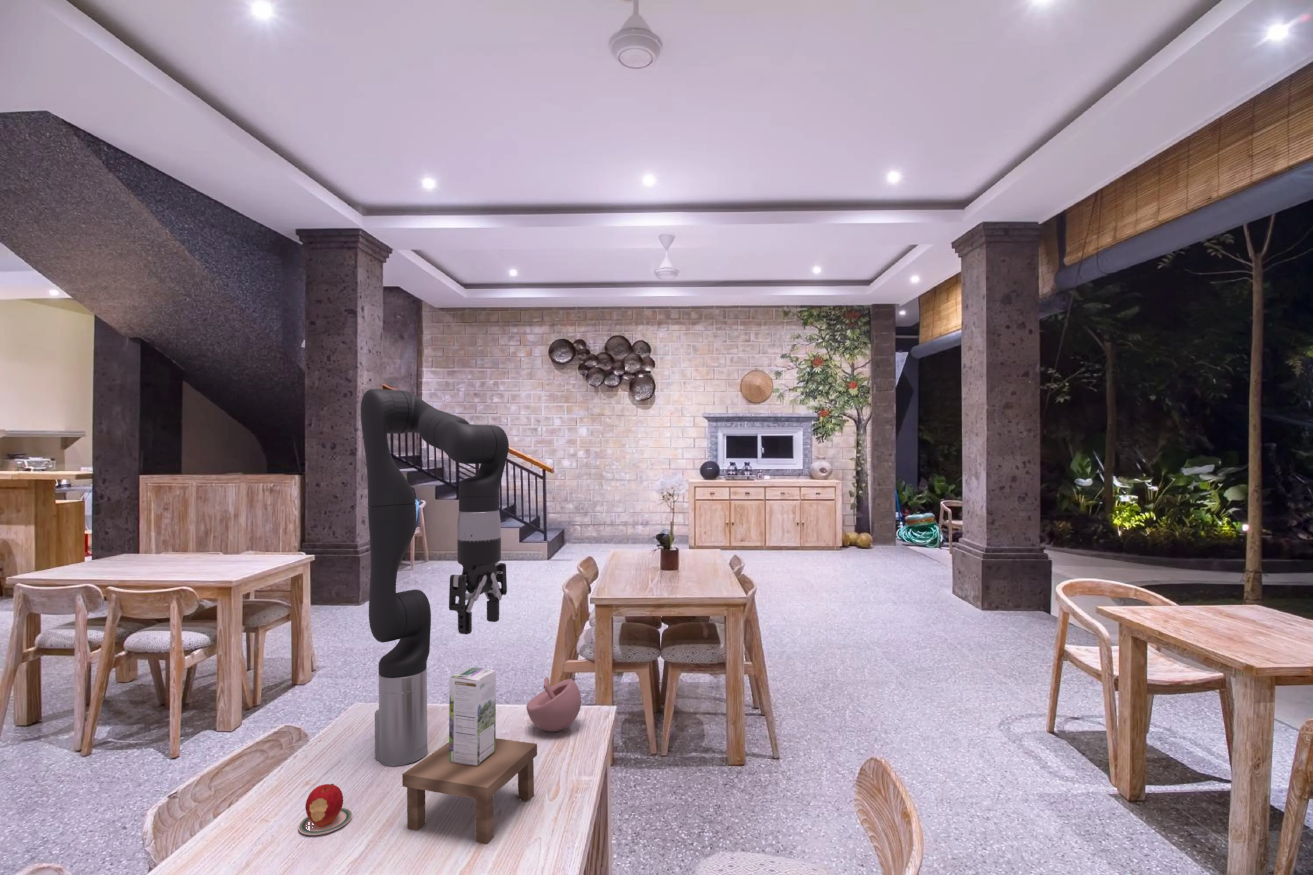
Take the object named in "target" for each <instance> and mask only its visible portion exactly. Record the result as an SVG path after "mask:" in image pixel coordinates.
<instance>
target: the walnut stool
mask: <svg viewBox="0 0 1313 875" xmlns="http://www.w3.org/2000/svg"><path fill="white" fill-rule="evenodd" d="M537 756H538V743H533V742H525V741H520V740H512V739H511V740H510V739H503V738H498V737H497V738H496V750H495V752H494V753H493V754H492V755H490V756H489V757H488V758H487V759H485V760H484V761H483V762H482V763H480V764H479V765H478V766H474V765H466V764H459V763H453V762H450V761H449V741H448V742H447V743H445V744H444V745H442V746H441V747H440V748H438V749H436V750H435V751H434V752H432V753H431V754H429V755H427V757H425V758H422V760H421V761H419V762H418V763H416V764H415V765H413V766H412V767H410V768H409V769H408V770H406V771H405V772H404V773H402V774H401V775H402V777H401V778H402V779H401V780H402V781H401V782H402V786H401V787H404V788H406V807H407V808H406V810H407V811H406V813H407V814H406V819H407V821H406V822H407V824H406V826H407V828H406V829H408V830H411V831H419V830H420V829H422V828H423V827H424V826H426V820H427V819H426V818H427V817H426V791H427V792H432V793H437V794H438V793H439V794H444V795H451V796H457V797H464V798H467V799H475V800H474V803H475V806H474V807H475V810H474V812H475V842H476V843H479V844H485V845H487V844H489V842H491V841H492V839H493V838H494V837H495V830H494V828H495V827H494V826H495V824H494V823H495V820H494V819H495V818H494V815H495V812H494V808H495V806H494V795H496V794H497V793H498V792H499V791H500V790H501V789H502V788H503V787H505V785H506V784H507V783H509V782H510V781H511V780H512V779H513V778H514V777H515V776H516V775H517V800H519V801H523V802H529V801H531V799H532V798H534V796H535V787H534V786H535V785H534V784H535V783H534V782H535V777H534V773H535V772H534V770H535V769H534V765H535V764H534V759H535V758H536V757H537Z"/></svg>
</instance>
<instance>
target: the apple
mask: <svg viewBox="0 0 1313 875" xmlns="http://www.w3.org/2000/svg"><path fill="white" fill-rule="evenodd" d="M343 805H344V796H343V792H342V790H341V788H340V787H339V786H337V785H335V784H334V783H331V784H330V783H327V784H326V783H325V784H321V785H318V786H317V787H315V788H313V789H312V790H311V792H310V793H309V794H308V796H307V799H306V802H305V813H306V817H304V818H303V819H302V820H301V821H300V823H299V825H298V831H299V832H300V833H301V834H303V835H306V836H317V835H318V836H319V835H325V834H328V833H331V832H334V831H337V830H339V829H341V828H342V827H344V826H346V825H347V824H348V823H349V822H350V821H351V820H352V817H353V812H352V811H351V809H349V808H346V807H343ZM308 822H310V825H308ZM312 823H313V824H314V825H312ZM306 825H307V826H306ZM308 826H310V831H309V830H307V829H308ZM306 827H307V829H306ZM312 827H313V828H312Z"/></svg>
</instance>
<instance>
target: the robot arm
mask: <svg viewBox="0 0 1313 875" xmlns="http://www.w3.org/2000/svg"><path fill="white" fill-rule="evenodd" d="M360 423H361V424H360V425H361V432H362V440H363V447H364V454H365V463H366V477H367V478H366V481H367V517H368V518H367V519H368V531H369V532H368V534H369V550H370V552H369V554H370V576H369V577H370V578H369V594H368V595H369V596H368V597H369V598H368V622H369V629H370V632H371V634H372V637H373V638H374V639H375V640H376V641H377V642H378V643H390V642H394V641H397V640H399V641H398V642H397V643H396V645H395V646H394V647H393V648H392V649H391V650H390V651H388V652H387V653H386V654H384V655H383V656H382V657H381V658H380V659H379V661H378V708H377V710H375V712H374V759H375V760H377V761H379V763H381V765H385V766H390V767H391V766H393V767H394V766H404V765H409V764H411V763H415V762H417V761H419V760H421V759H424V757H425V756H427V754H428V679H427V678H428V666H427V664H428V658H429V655H430V649H431V648H430V647H431V630H432V629H431V628H432V627H431V626H432V611H431V603H430V601H429V598H428V596H427V594H425V593H424V591H423V590H421V589H407V590H403V591H398V592H397V579H398V578H397V576H398V572H399V571H398V570H399V568H400V565H401V562H402V559H403V558H404V556H405V554H406V552H407V551H408V550H407V549H408V548H409V546H410V544H411V542H412V541H413V537H414V536H415V533H416V530H417V524H418V522H417V521H418V519H417V504H416V503H417V501H416V495H415V494H416V493H415V492H414V490H413V488H412V486H411V484H410V483H409V481H408V480H407V478H406V477H405V475H404V474H403V473H402V471H401V470H400V469H399V467H398V465H396V464H397V463H396V462H395V461H394V459H393V456H392V453H391V450H390V446H389V442H388V441H389V440H388V434H396V435H398V434H399V435H403V434H408V433H413V434H415V433H416V434H419V436H420V438H421V439H422V441H424V442H425V443H427V445H429V446H431V447H433V448H436V449H437V450H440V451H443V452H444V453H445V454H446V456H448V457H449V459H450V460H452V461H453V462H456V463H458V464H463V465H479V469H478V471H477V473H476V474H475V475H472V476H470V477H467V478H464V479H462V480H461V481H460V482H459V485H458V518H457V526H456V527H457V530H456V532H457V535H456V536H457V539H456V540H457V542H456V544H457V545H456V546H457V547H456V548H457V549H456V550H457V552H456V553H457V554H456V555H457V558H456V559H457V563H458V564H459V565H461V566H462V572H461V574H450V575H449V576H450V577H449V595H448V610H449V611H453V612H456V613H457V630H458V634H460V635H470V634H472V632H473V630H472V629H473V624H472V623H473V621H472V620H473V619H472V618H473V613H472V609H473V607H474V604H475V602H476V601H478V600H479V598H480V595H482V594H484V595H485V597H486V598H487V600H486V621H488V622H489V623H490V622H491V623H495V622H496V623H497V622H499V620H500V601H501V600H502V598H503V597H502V596H506V595H507V594H508V586H507V584H508V582H507V580H508V579H507V564H506V563H505V562H500V561H501V560H502V524H501V522H502V521H501V514H500V486H501V483H502V478H503V474H504V471H505V467H506V463H507V460H508V455H509V451H510V450H509V449H510V443H509V438H508V435H507V433H506V431H505V430H504V429H503V428H502V427H500V426H499V425H495V424H473V423H472V424H470V422H469V421H468V420H466V419H465V418H463V417H461V416H458V415H455V414H451V413H450V412H446V411H443V410H440V409H438V408H436V407H434V406H432V405H431V404H429V403H428V402H426V401H424V400H423V399H422V398H421V397H419V396H417V394H415V393H413V392H410V391H407V390H400V389H399V390H397V389H383V388H371V389H367V391H365V392H364V394H363V395H362V398H361V401H360ZM499 583H500V584H499ZM457 598H458V601H457ZM456 601H457V602H456ZM466 601H467V602H466Z"/></svg>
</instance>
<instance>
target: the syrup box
mask: <svg viewBox="0 0 1313 875" xmlns="http://www.w3.org/2000/svg"><path fill="white" fill-rule="evenodd" d="M496 673H497V672H496V670H495V669H491V668H487V667H486V668H485V667H480V666H479V667H476V666H469V667H467V668H465V669H463V670H461V671H460V672H458V673H456V674H454V675H453V676H450V677H449V683H448V684H449V685H448V686H449V691H448V692H449V697H448V698H449V699H448V700H449V701H448V702H449V703H448V704H449V713H448V714H449V715H448V716H449V718H448V720H449V722H448V723H449V724H448V726H449V728H448V732H449V734H448V736H449V738H448V742H449V761H450V762H453V763H459V764H466V765H474V766H478V765H479V764H480V763H482V762H483V761H484V760H485V759H487V758H488V757H489V756H490V755H492V754H493V753H494V752H495V750H496V737H497V734H496V731H497V730H496V729H497V728H496V722H497V721H496V720H497V718H496V715H497V713H496V711H497V710H496V709H497V708H496V706H497V699H496V698H497V695H496V694H497V693H496V692H497V687H496V686H497V680H496V679H497V677H496V676H497V674H496Z"/></svg>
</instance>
